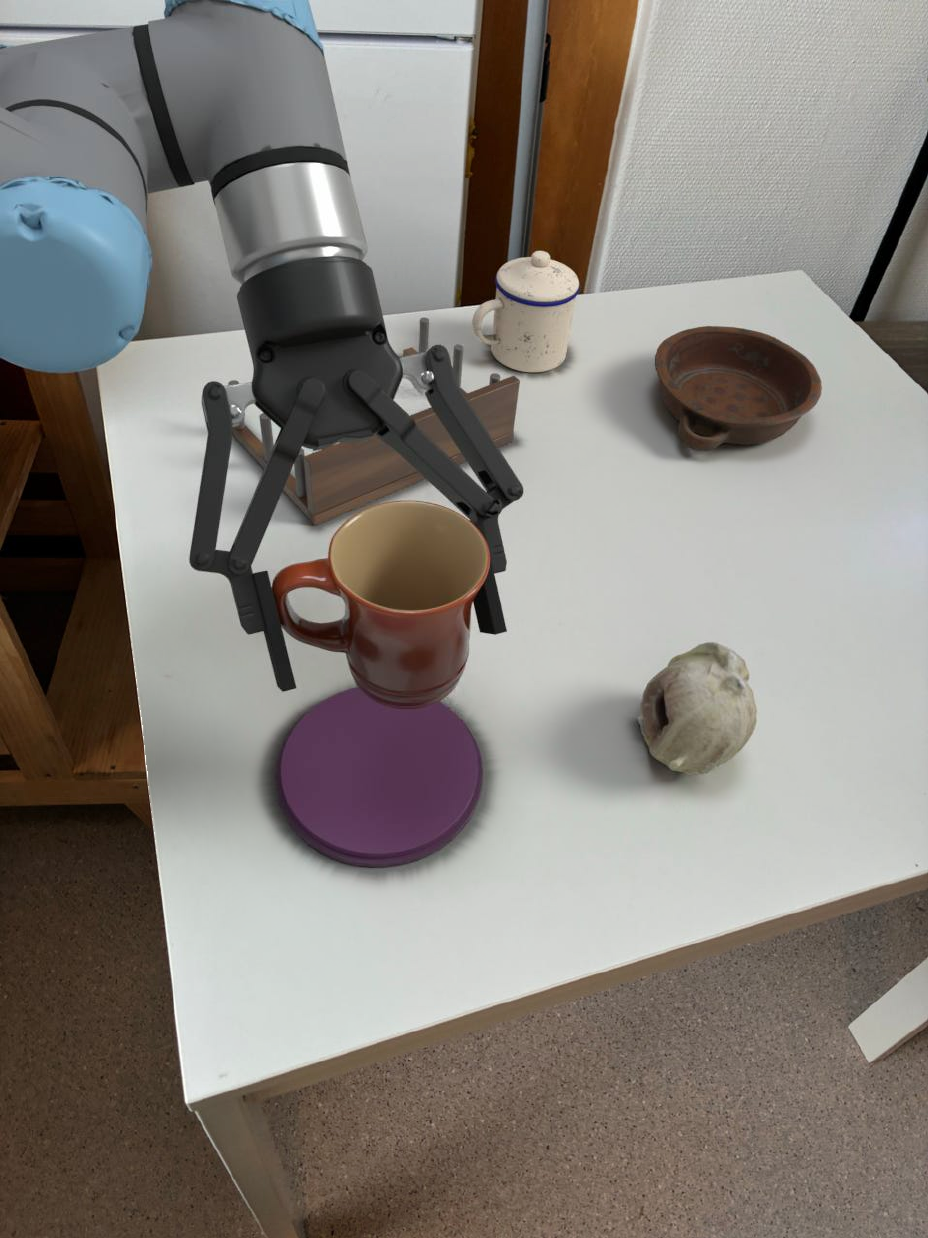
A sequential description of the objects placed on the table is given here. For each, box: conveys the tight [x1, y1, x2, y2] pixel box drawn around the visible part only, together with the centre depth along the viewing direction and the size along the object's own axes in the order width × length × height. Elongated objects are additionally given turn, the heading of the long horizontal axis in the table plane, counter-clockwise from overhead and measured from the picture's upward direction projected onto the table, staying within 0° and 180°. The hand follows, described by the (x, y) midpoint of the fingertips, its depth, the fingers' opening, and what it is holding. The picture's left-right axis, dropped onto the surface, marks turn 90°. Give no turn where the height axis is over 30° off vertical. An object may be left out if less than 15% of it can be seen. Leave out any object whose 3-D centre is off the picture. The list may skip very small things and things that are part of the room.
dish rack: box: [227, 317, 521, 526], centre depth 88 cm, size 18×23×7 cm
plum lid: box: [274, 686, 484, 868], centre depth 65 cm, size 15×15×1 cm
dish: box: [654, 325, 823, 452], centre depth 96 cm, size 18×22×5 cm
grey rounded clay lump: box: [637, 641, 758, 777], centre depth 65 cm, size 9×8×10 cm
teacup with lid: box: [471, 250, 581, 373], centre depth 98 cm, size 12×9×12 cm
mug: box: [271, 499, 490, 709], centre depth 52 cm, size 12×9×10 cm
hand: (393, 659), depth 51 cm, fingers closed on mug, 12 cm apart
